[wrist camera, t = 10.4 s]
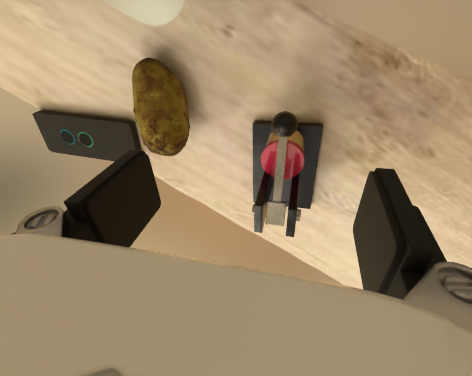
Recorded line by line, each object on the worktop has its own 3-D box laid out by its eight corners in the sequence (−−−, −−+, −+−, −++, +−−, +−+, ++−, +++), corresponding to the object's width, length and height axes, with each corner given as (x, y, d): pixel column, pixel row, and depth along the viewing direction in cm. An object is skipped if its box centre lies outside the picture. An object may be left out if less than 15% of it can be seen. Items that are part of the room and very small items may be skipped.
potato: (196, 60, 36) (171, 71, 29) (198, 143, 43) (179, 166, 37) (142, 53, 37) (107, 63, 31) (154, 135, 45) (128, 156, 38)
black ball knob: (273, 114, 33) (271, 108, 30) (298, 114, 32) (299, 109, 29) (264, 219, 34) (261, 224, 31) (288, 222, 34) (287, 227, 31)
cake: (266, 125, 37) (260, 140, 33) (307, 126, 36) (306, 143, 32) (265, 159, 41) (260, 177, 36) (303, 162, 39) (301, 181, 35)
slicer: (254, 120, 39) (231, 165, 28) (322, 123, 36) (327, 172, 26) (254, 198, 47) (237, 256, 36) (310, 204, 45) (309, 267, 34)
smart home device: (30, 111, 46) (128, 123, 42) (38, 108, 47) (134, 119, 44) (49, 152, 51) (139, 166, 47) (56, 148, 52) (143, 161, 49)
